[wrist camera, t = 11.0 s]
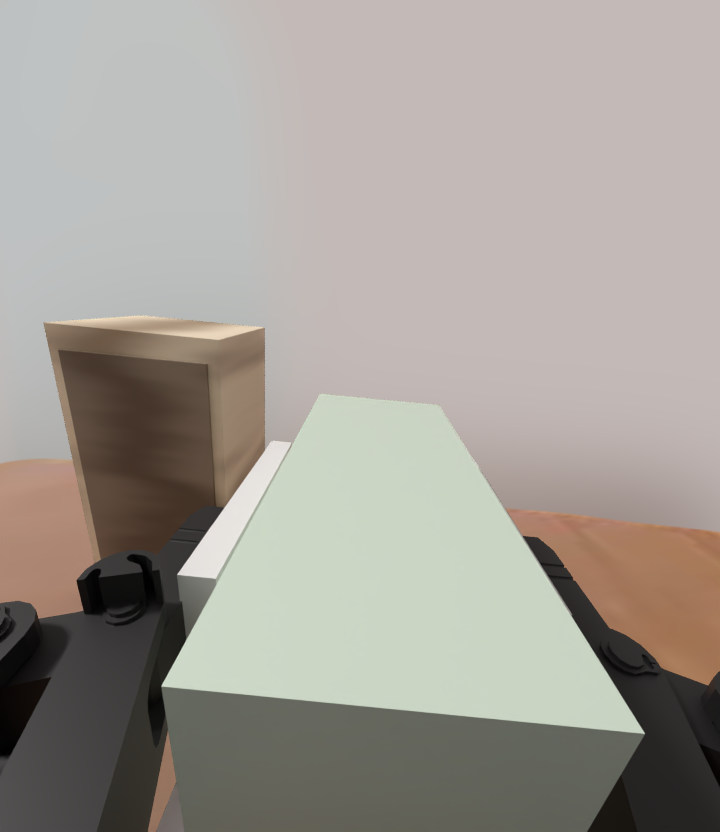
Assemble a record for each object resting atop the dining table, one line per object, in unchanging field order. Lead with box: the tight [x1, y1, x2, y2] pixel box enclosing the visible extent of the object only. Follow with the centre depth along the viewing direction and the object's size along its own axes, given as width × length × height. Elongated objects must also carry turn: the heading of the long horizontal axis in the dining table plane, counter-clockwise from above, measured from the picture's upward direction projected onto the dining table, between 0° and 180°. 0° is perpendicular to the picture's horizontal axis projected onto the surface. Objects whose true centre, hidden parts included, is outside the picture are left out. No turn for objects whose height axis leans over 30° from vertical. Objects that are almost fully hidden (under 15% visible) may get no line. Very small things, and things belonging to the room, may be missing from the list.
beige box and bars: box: [44, 315, 265, 832], centre depth 13 cm, size 18×18×13 cm
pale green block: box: [161, 394, 645, 832], centre depth 9 cm, size 4×9×12 cm, turn 178°
